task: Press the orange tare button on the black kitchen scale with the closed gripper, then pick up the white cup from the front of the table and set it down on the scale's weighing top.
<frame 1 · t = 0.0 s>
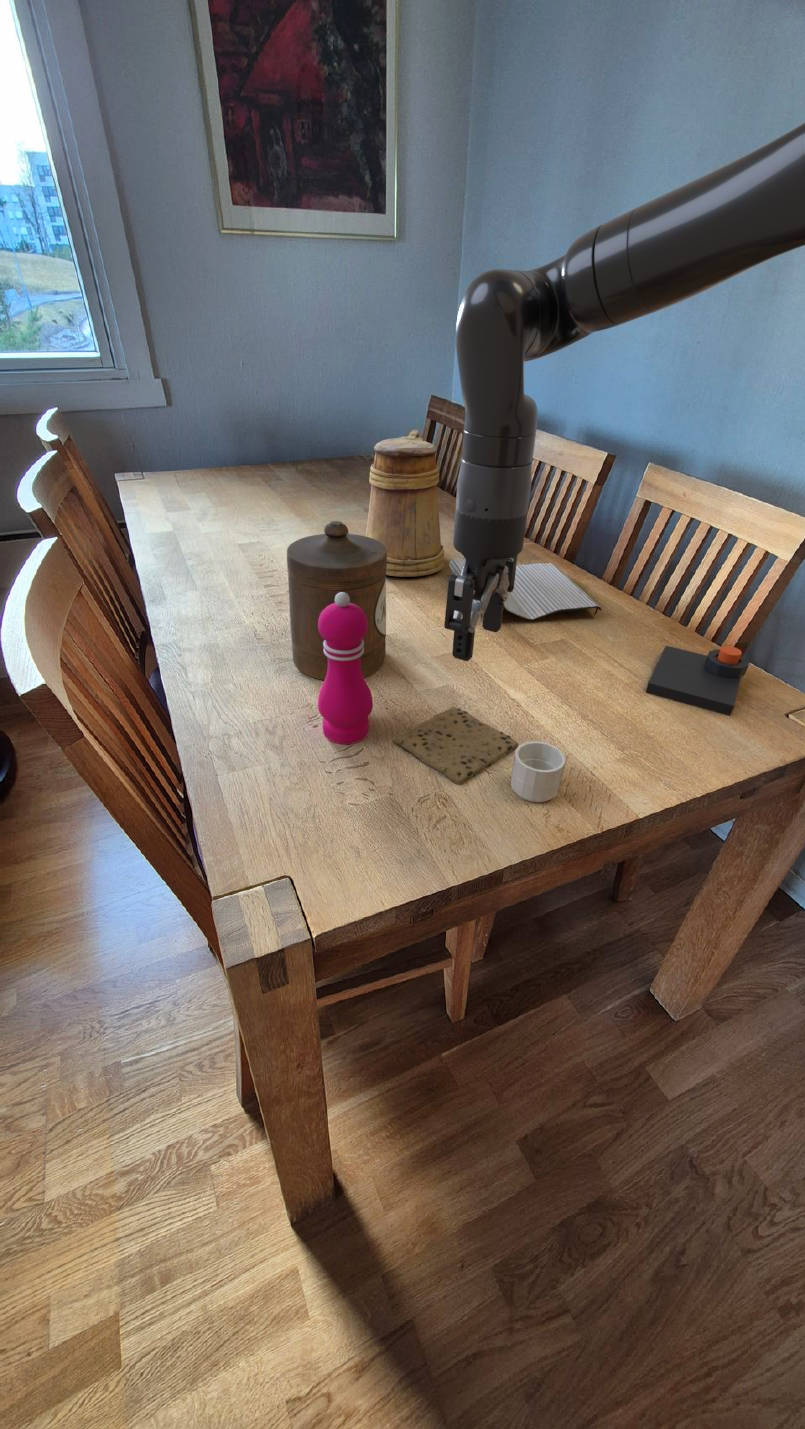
hand: (477, 643, 74), 15 cm above the table, tool pointing down, fingers open, 8 cm apart
white cup: (534, 788, 76), on the table
tare button: (729, 655, 97), point 4 cm above the table, slide at 0.1 cm
pepper mill: (346, 731, 85), on the table
mat: (519, 598, 123), on the table
tankard: (403, 560, 138), on the table
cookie: (455, 744, 83), on the table
scale: (694, 682, 97), on the table
wooden container: (339, 659, 101), on the table
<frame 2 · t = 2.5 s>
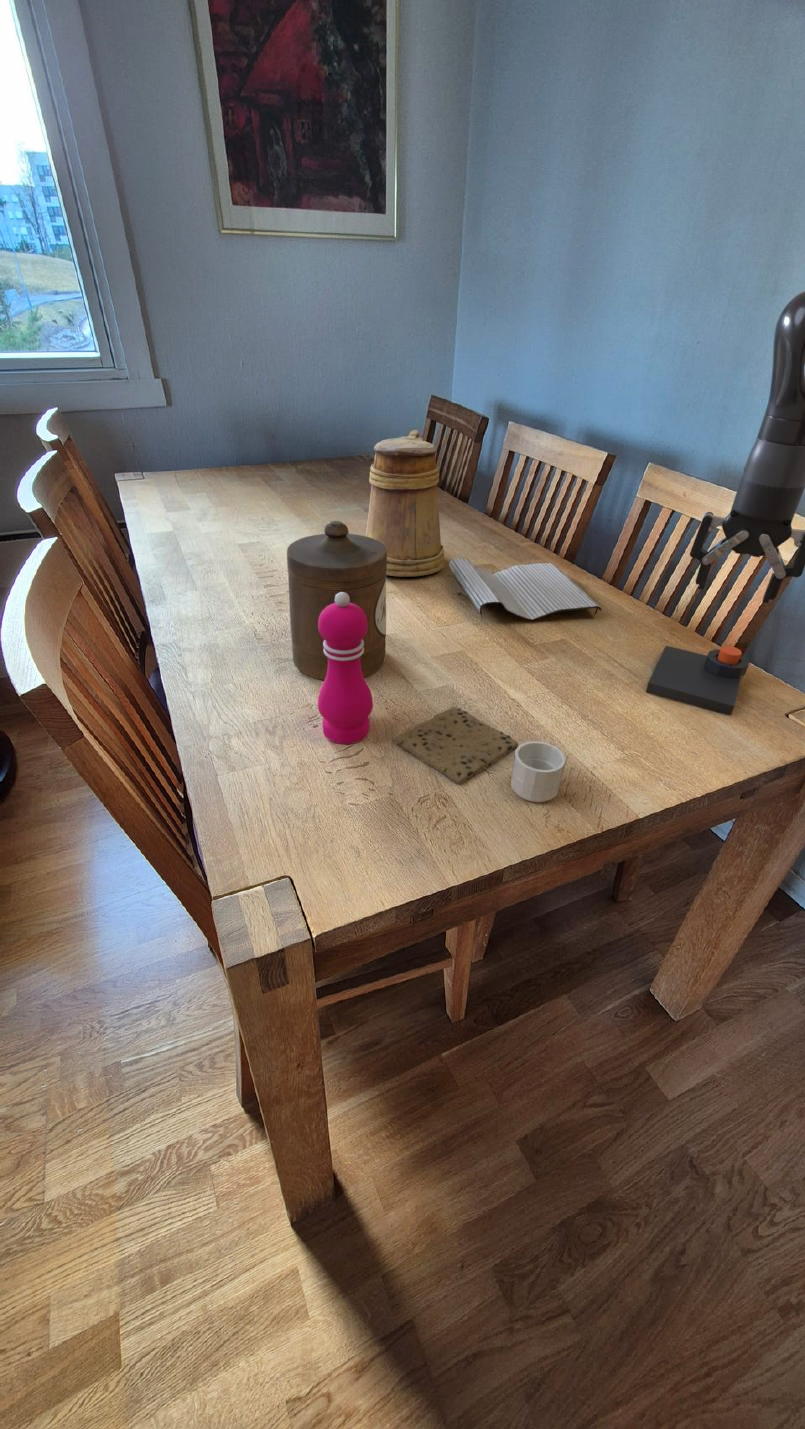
hand: (732, 594, 90), 15 cm above the table, tool pointing down, fingers open, 8 cm apart
nothing on the table moved.
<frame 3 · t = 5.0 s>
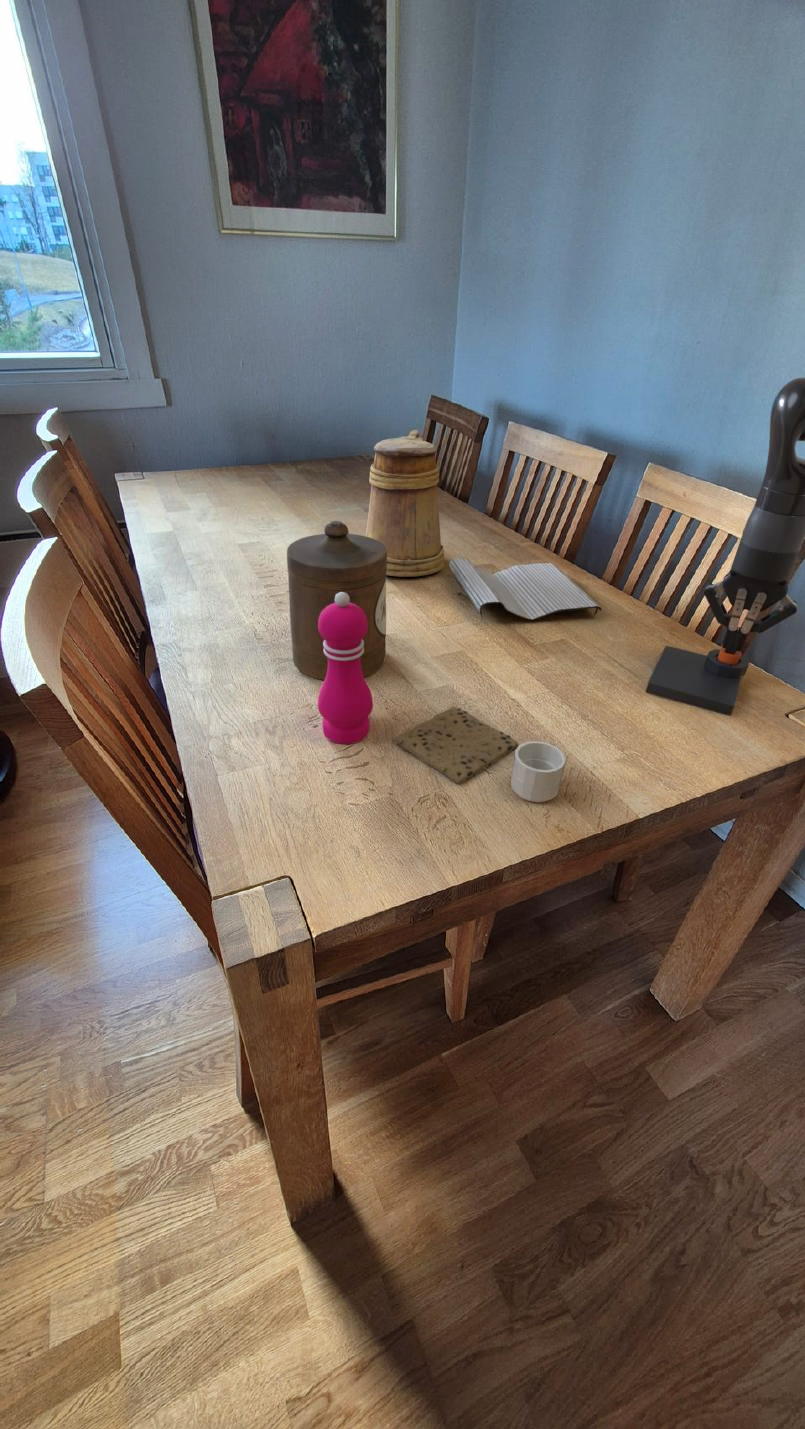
hand: (730, 651, 96), 5 cm above the table, tool pointing down, fingers closed
tare button: (729, 656, 97), point 4 cm above the table, slide at 0.0 cm, touching gripper
everything else where it was.
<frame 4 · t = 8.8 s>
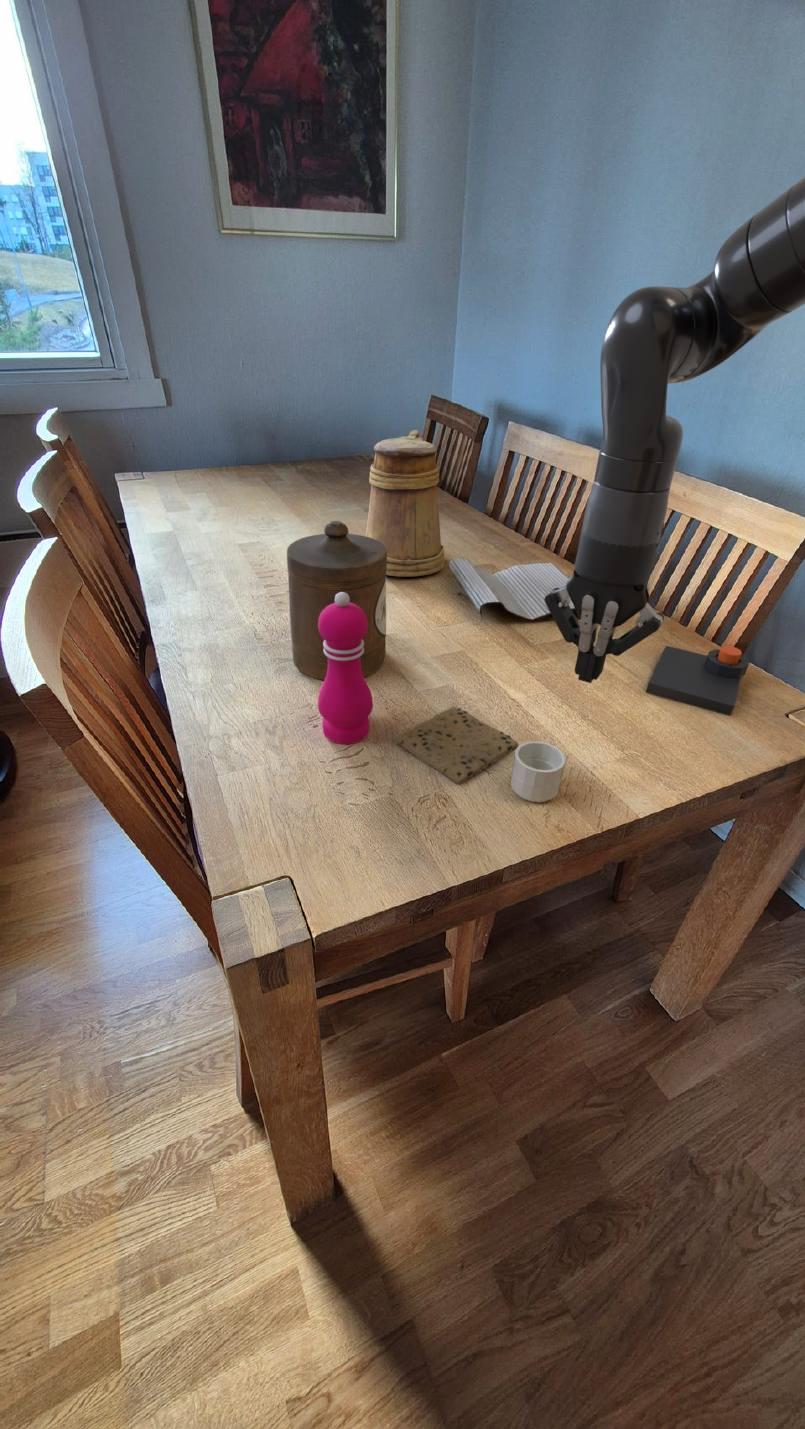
hand: (586, 678, 72), 13 cm above the table, tool pointing down, fingers closed
tare button: (729, 655, 97), point 4 cm above the table, slide at 0.1 cm
everything else where it was.
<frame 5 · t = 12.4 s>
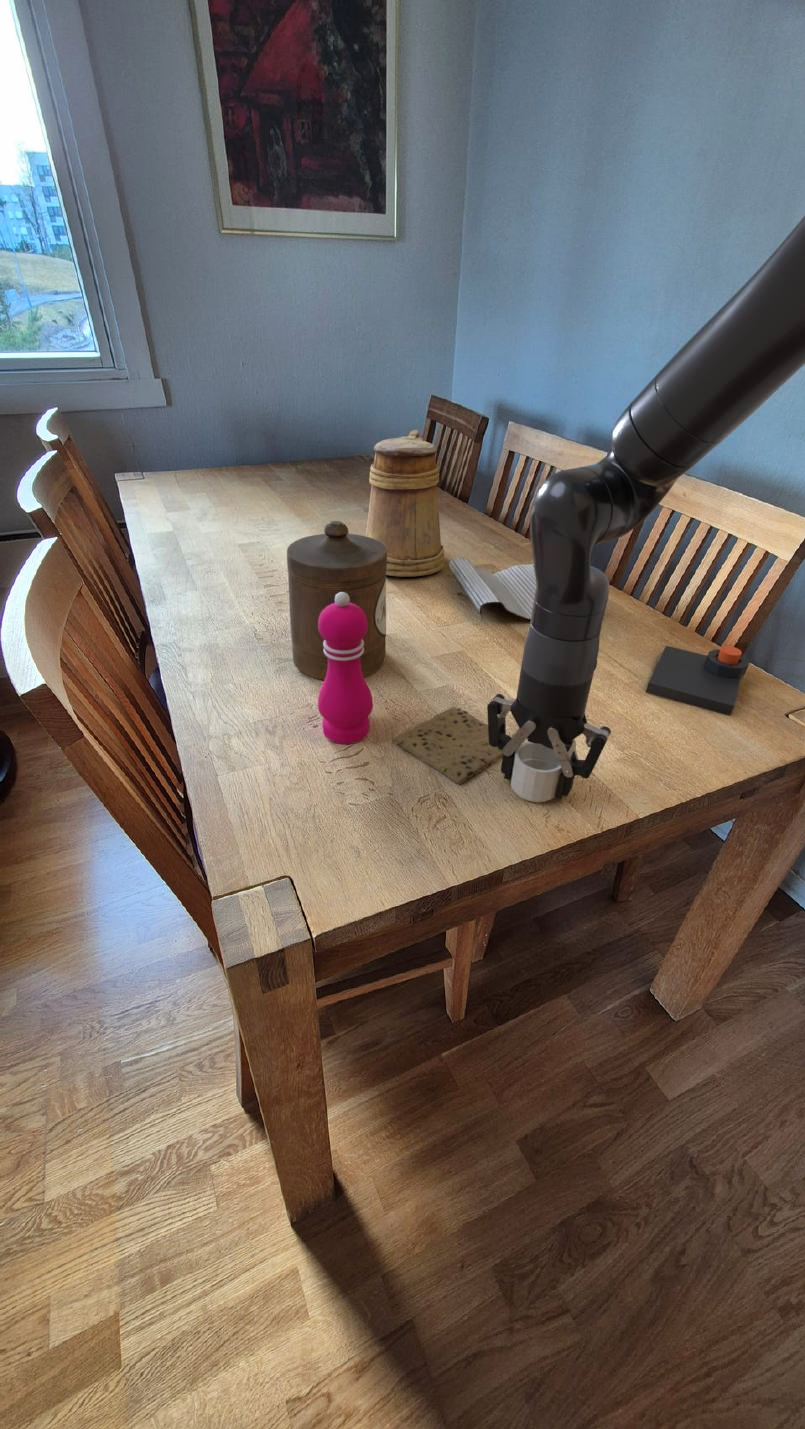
hand: (534, 784, 75), 1 cm above the table, tool pointing down, fingers closed on white cup, 6 cm apart
white cup: (534, 788, 76), on the table, touching gripper
everything else where it was.
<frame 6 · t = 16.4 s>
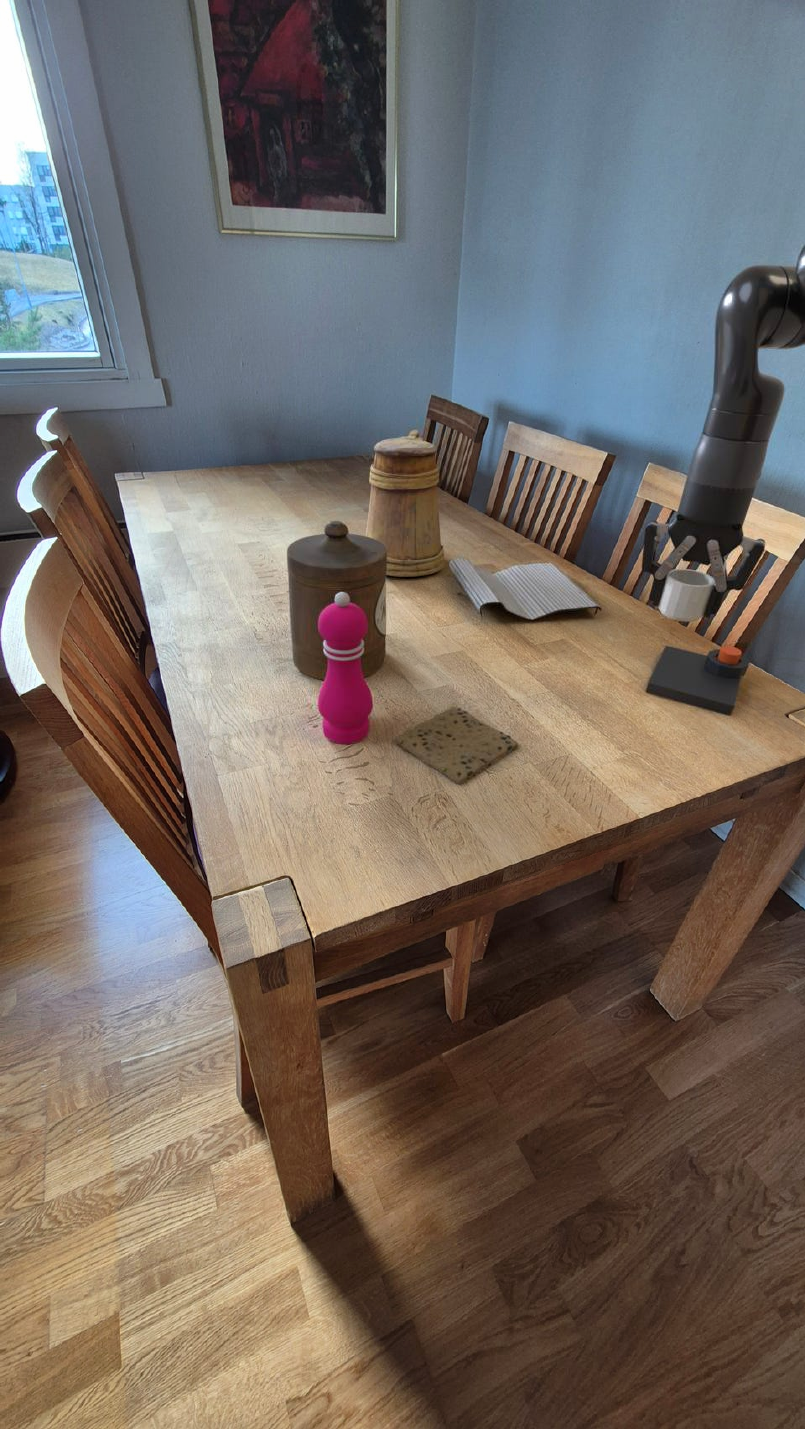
hand: (681, 609, 82), 16 cm above the table, tool pointing down, fingers closed on white cup, 6 cm apart
white cup: (680, 613, 83), point 15 cm above the table, touching gripper
everything else where it was.
when the fingers open (2 cm above the table, at t = 20.7 s): white cup stays where it is, resting on scale.
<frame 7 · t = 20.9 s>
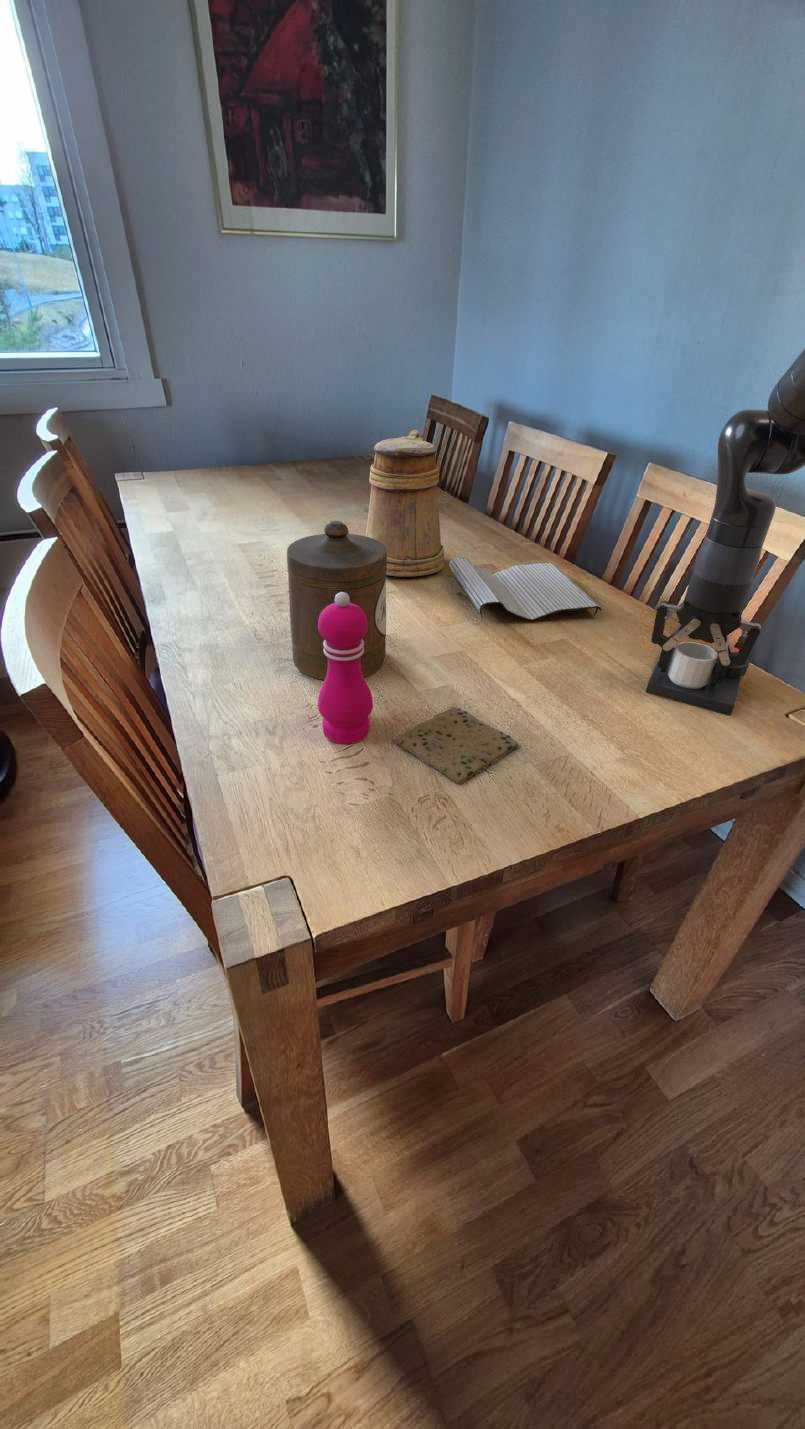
hand: (688, 676, 94), 2 cm above the table, tool pointing down, fingers open, 6 cm apart
white cup: (686, 680, 95), point 2 cm above the table, touching scale
everything else where it was.
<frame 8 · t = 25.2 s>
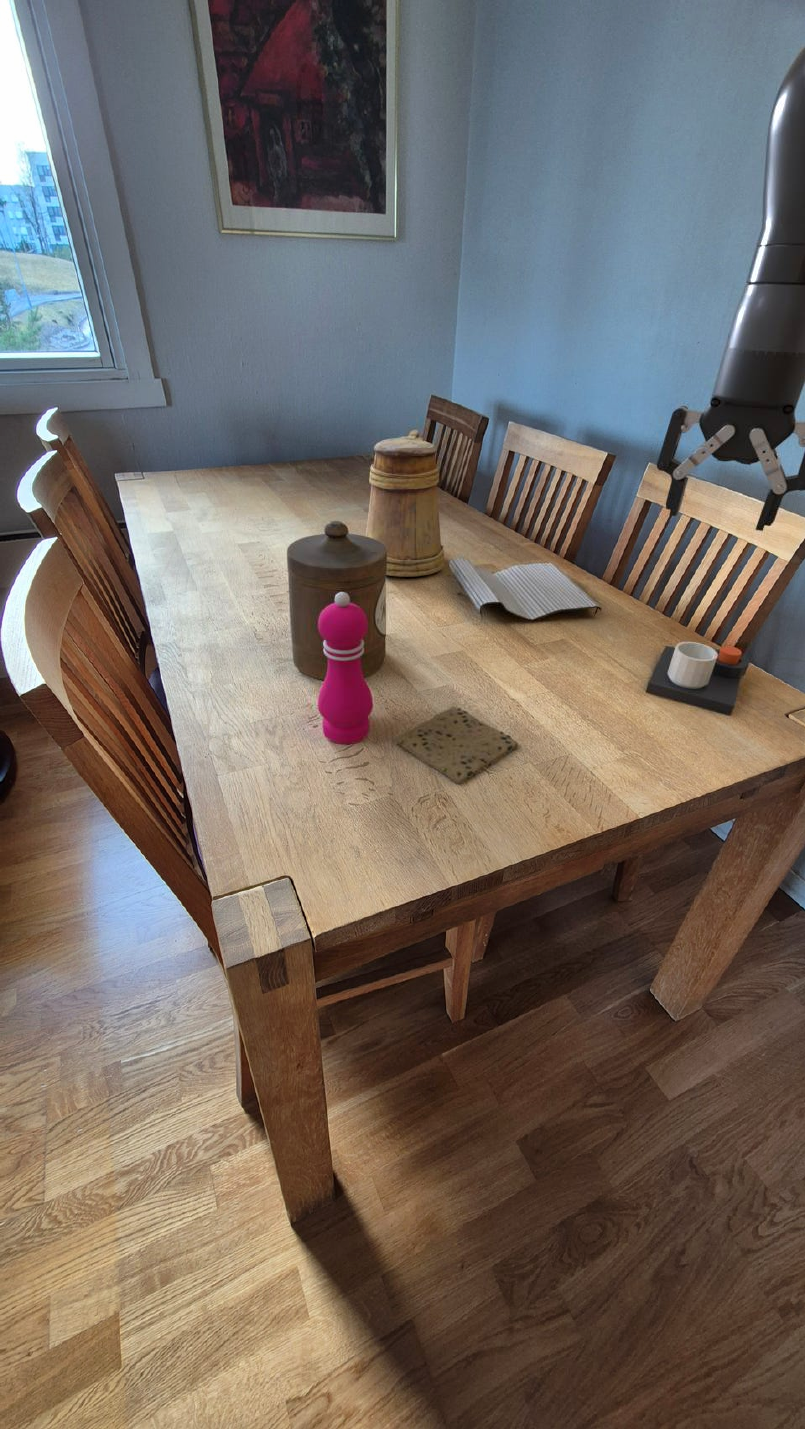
hand: (715, 521, 66), 30 cm above the table, tool pointing down, fingers open, 8 cm apart
nothing on the table moved.
at the end: tare button pushed in 1.1 cm at the most during the clip, back to where it started at the end; white cup inside the target area on the scale (0.1 cm from its centre), point 1.7 cm above the scale's base; white cup tilted 0° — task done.
